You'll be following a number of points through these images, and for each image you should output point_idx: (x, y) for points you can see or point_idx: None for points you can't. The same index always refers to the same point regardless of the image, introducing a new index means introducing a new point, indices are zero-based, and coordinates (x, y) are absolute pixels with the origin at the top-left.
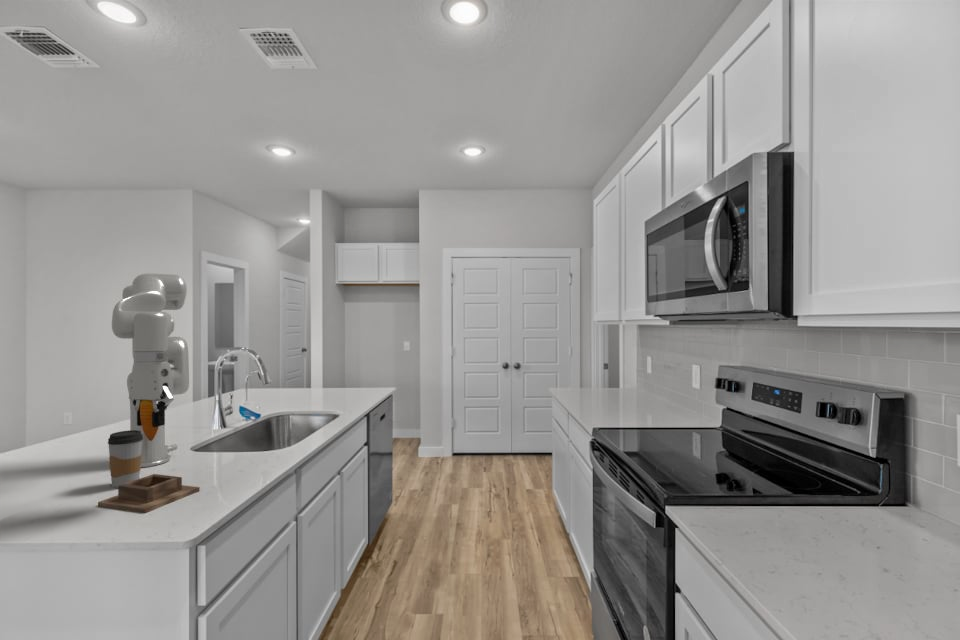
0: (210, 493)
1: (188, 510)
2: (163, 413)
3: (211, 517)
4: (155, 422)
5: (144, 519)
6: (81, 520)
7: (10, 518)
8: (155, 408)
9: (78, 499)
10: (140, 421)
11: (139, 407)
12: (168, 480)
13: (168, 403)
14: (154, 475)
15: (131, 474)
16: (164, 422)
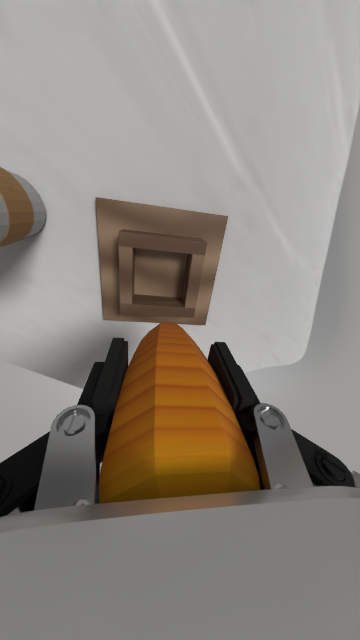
0: (255, 226)
1: (259, 301)
2: (256, 400)
3: (303, 314)
4: None
5: (218, 336)
6: None
7: (35, 370)
8: None
9: (34, 301)
10: None
11: (99, 472)
12: (193, 268)
13: (352, 481)
14: (131, 243)
15: (34, 218)
16: (227, 348)
